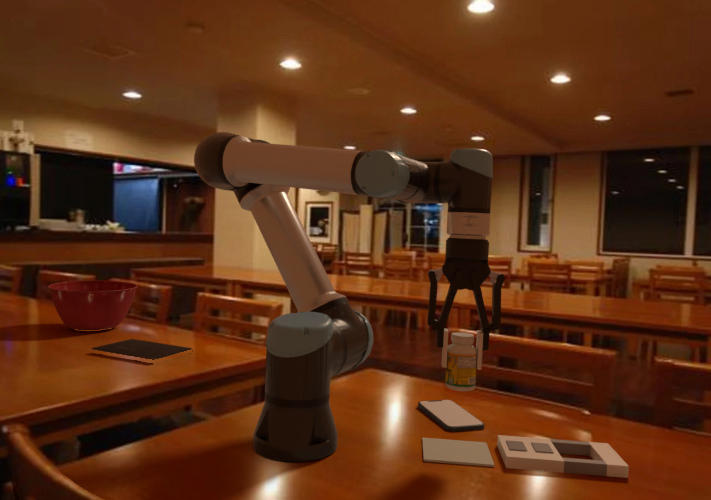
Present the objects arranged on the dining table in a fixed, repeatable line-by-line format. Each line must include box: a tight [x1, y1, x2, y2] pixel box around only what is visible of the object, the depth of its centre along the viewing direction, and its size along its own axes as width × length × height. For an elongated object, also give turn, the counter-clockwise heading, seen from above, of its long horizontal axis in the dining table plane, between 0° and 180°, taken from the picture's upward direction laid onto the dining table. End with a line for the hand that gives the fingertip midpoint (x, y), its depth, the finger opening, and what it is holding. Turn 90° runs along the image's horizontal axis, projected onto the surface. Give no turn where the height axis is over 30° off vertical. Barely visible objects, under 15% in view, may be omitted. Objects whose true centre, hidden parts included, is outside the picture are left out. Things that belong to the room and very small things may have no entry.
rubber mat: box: [421, 437, 495, 468], centre depth 102 cm, size 12×10×1 cm
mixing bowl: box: [47, 280, 139, 330], centre depth 197 cm, size 28×28×15 cm
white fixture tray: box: [496, 434, 630, 479], centre depth 100 cm, size 20×10×2 cm, turn 85°
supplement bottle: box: [444, 331, 477, 392], centre depth 101 cm, size 5×5×10 cm
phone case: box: [417, 399, 485, 433], centre depth 121 cm, size 9×2×16 cm
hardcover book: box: [91, 338, 193, 360], centre depth 165 cm, size 16×23×2 cm
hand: (461, 366), depth 101 cm, fingers closed on supplement bottle, 5 cm apart
